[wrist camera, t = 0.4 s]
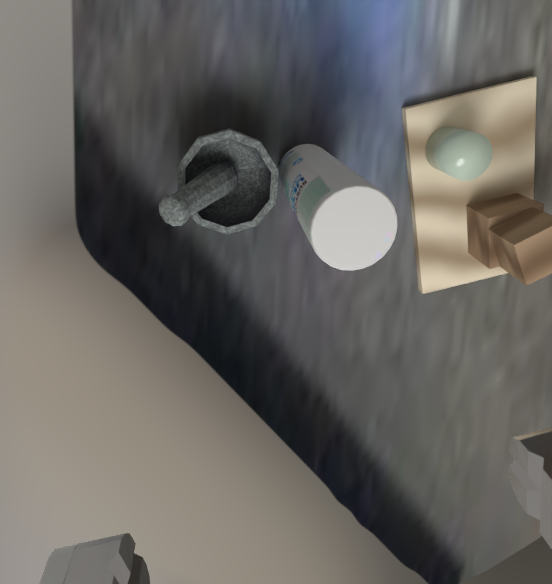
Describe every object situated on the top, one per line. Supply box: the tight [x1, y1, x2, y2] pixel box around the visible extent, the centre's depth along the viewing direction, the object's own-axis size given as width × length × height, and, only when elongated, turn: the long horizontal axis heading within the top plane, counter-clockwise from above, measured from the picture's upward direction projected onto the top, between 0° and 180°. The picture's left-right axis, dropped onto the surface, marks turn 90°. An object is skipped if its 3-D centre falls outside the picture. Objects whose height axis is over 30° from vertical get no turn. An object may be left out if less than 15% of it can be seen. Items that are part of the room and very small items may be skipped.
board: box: [402, 77, 536, 294], centre depth 55 cm, size 22×14×1 cm, turn 12°
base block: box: [466, 193, 544, 269], centre depth 54 cm, size 6×6×5 cm
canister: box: [425, 126, 493, 181], centre depth 50 cm, size 5×5×6 cm
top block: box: [488, 207, 552, 286], centre depth 50 cm, size 5×5×5 cm
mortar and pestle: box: [159, 128, 279, 234], centre depth 46 cm, size 11×9×12 cm
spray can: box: [278, 144, 397, 270], centre depth 44 cm, size 6×6×20 cm
